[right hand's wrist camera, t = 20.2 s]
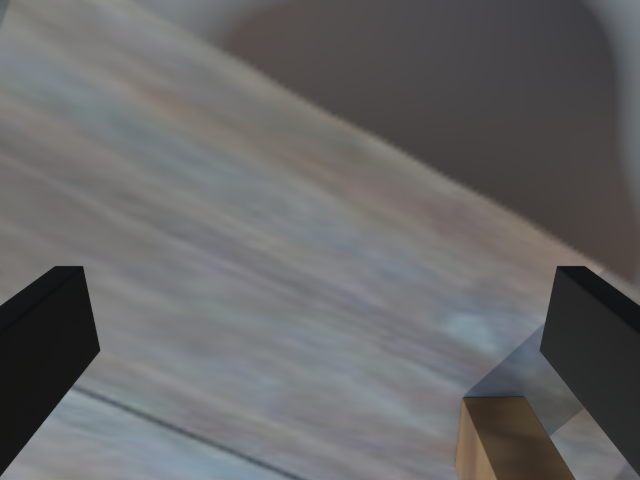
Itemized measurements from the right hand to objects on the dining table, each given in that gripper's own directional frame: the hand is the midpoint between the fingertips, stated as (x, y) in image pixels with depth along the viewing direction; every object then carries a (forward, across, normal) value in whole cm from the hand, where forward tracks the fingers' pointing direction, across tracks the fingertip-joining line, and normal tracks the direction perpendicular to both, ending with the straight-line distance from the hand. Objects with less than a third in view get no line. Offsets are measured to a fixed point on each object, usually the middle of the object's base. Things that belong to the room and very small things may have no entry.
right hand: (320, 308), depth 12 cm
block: (+21, +16, -25) cm, 37 cm away
